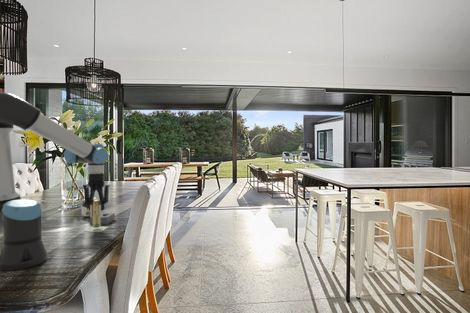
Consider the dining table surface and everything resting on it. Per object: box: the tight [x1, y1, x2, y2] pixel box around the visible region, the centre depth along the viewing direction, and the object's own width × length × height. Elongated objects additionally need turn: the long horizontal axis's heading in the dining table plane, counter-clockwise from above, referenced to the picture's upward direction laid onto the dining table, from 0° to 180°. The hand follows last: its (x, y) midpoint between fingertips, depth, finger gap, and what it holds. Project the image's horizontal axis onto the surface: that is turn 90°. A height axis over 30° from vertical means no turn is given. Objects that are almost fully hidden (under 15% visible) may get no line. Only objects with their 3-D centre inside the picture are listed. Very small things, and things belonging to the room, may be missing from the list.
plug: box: [92, 199, 102, 228], centre depth 150 cm, size 4×4×14 cm
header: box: [89, 212, 116, 225], centre depth 165 cm, size 10×10×4 cm
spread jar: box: [81, 196, 106, 219], centre depth 179 cm, size 12×11×12 cm
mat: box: [83, 226, 109, 233], centre depth 151 cm, size 9×9×1 cm
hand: (96, 216), depth 150 cm, fingers closed on plug, 4 cm apart
